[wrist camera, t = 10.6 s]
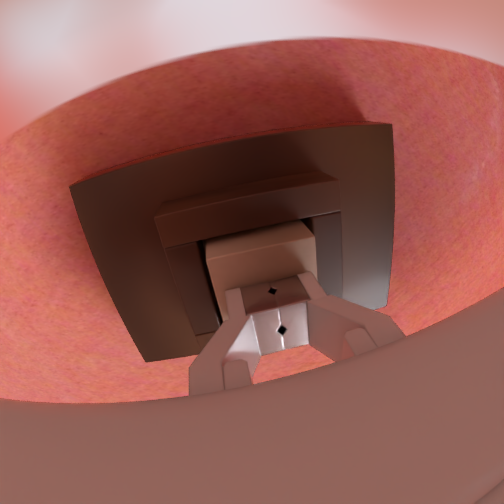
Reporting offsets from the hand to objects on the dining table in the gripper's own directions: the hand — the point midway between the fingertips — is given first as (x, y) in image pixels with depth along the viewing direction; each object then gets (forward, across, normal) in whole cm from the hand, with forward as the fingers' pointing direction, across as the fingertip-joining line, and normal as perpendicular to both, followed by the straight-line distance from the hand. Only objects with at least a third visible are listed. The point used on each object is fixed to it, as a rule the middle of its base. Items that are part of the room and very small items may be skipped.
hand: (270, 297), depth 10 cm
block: (+5, 0, 0) cm, 5 cm away
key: (+2, 0, 0) cm, 2 cm away
